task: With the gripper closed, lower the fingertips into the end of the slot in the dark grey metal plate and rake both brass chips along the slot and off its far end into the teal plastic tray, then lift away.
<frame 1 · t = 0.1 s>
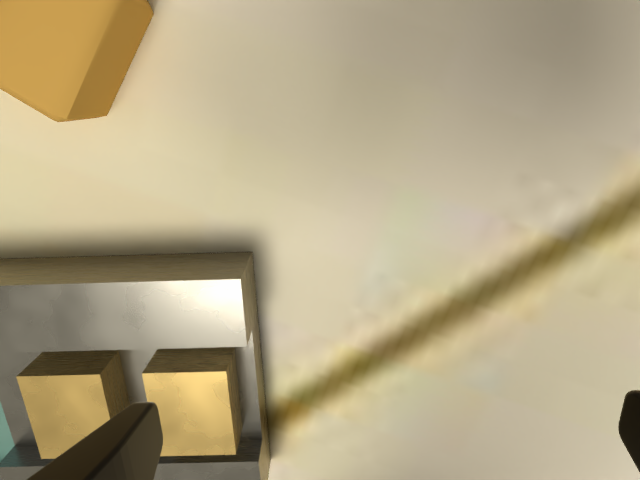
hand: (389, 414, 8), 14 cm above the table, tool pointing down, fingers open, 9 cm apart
rubber stamp: (29, 2, 19), on the table
brass chip b: (90, 391, 23), point 2 cm above the table, touching slotted plate
slotted plate: (141, 368, 25), on the table
brass chip a: (201, 389, 23), point 2 cm above the table, touching slotted plate
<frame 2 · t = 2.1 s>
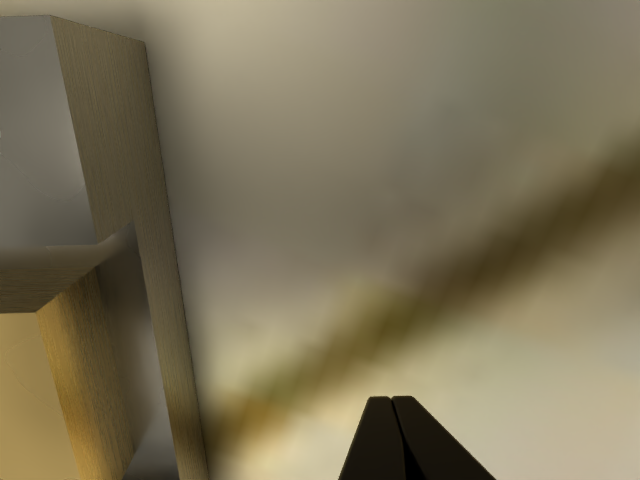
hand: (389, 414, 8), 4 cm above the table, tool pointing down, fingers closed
brass chip a: (30, 370, 10), point 2 cm above the table, touching slotted plate
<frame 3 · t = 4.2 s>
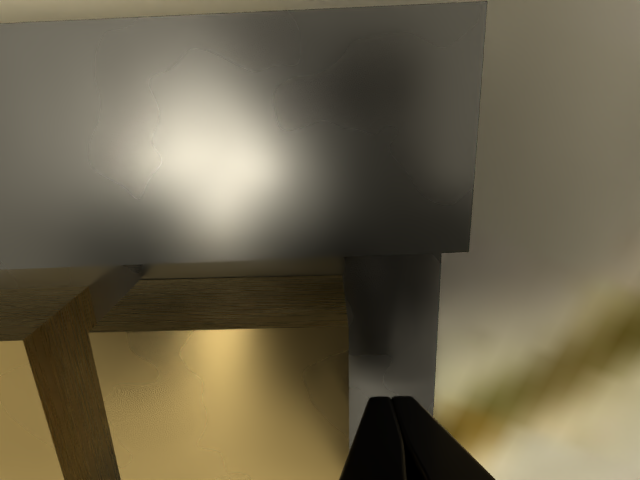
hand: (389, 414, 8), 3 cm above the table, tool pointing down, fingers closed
brass chip b: (21, 394, 9), point 2 cm above the table, touching slotted plate
slotted plate: (147, 341, 11), on the table
brass chip a: (250, 384, 9), point 2 cm above the table, touching gripper
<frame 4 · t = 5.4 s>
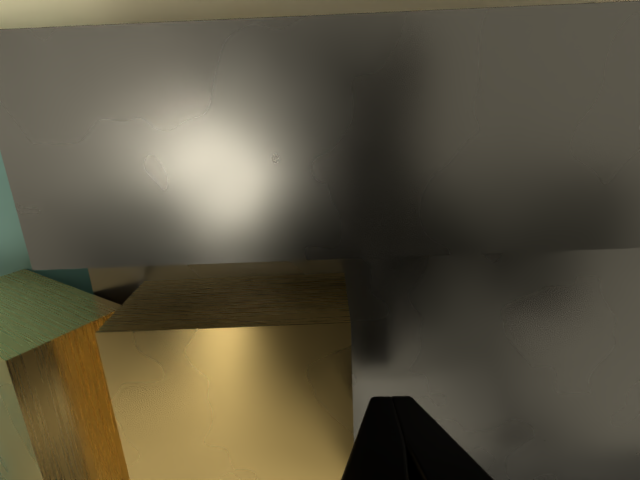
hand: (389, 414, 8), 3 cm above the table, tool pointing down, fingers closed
brass chip b: (93, 385, 10), point 2 cm above the table, tilted 33°, touching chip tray
slotted plate: (416, 333, 11), on the table
brass chip a: (255, 382, 9), point 2 cm above the table, touching gripper, slotted plate
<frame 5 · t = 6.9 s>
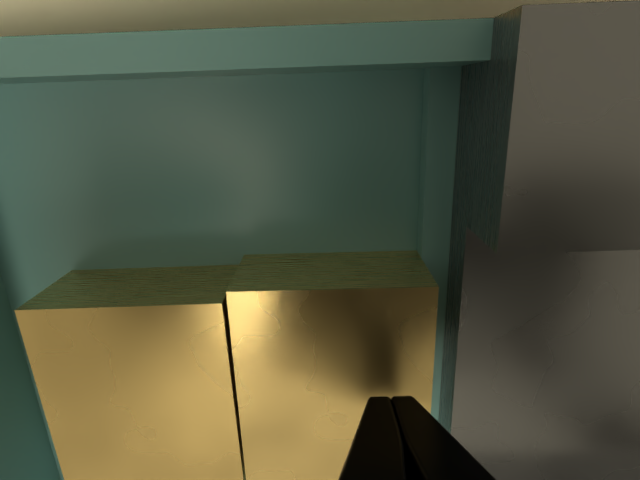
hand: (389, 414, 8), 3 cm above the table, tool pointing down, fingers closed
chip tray: (221, 338, 11), on the table
brass chip b: (171, 358, 11), resting on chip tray
brass chip a: (332, 346, 11), resting on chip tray
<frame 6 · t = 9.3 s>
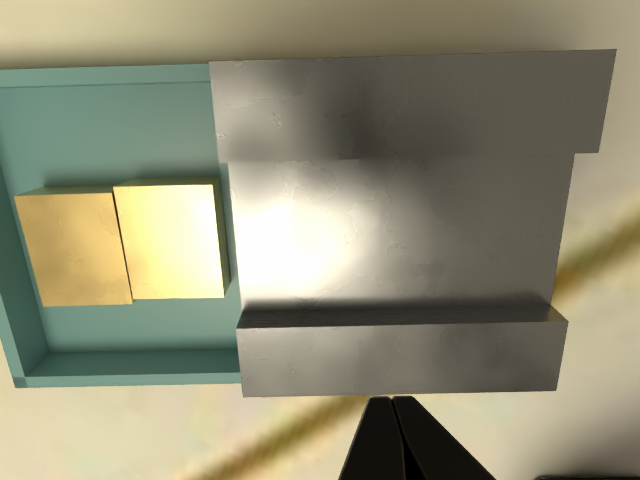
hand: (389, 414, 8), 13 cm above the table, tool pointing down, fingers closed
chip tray: (127, 228, 21), on the table
brass chip b: (98, 237, 20), resting on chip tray
slotted plate: (390, 222, 20), on the table
brass chip a: (185, 230, 20), resting on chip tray
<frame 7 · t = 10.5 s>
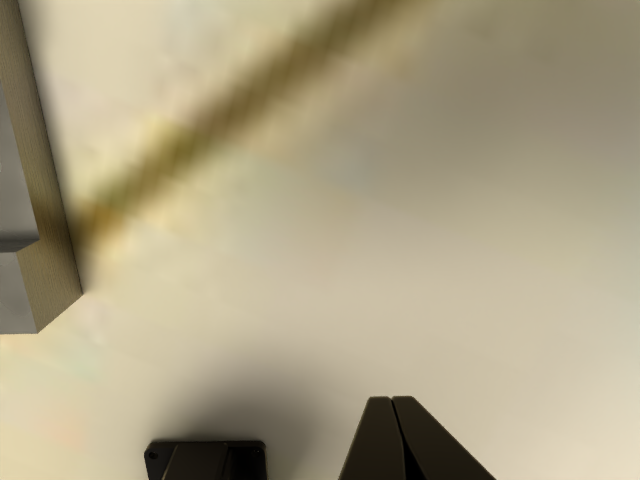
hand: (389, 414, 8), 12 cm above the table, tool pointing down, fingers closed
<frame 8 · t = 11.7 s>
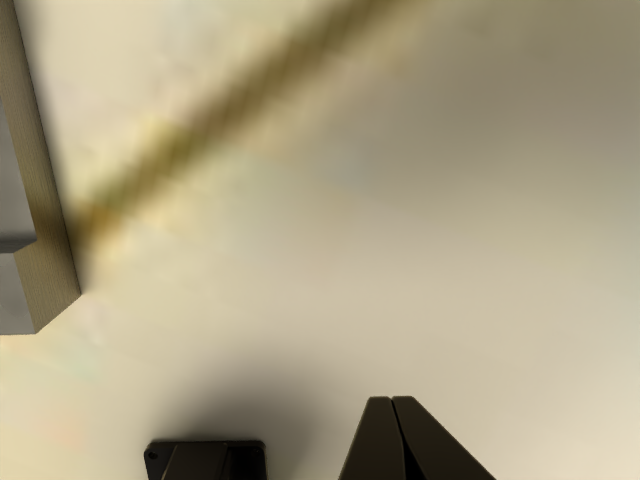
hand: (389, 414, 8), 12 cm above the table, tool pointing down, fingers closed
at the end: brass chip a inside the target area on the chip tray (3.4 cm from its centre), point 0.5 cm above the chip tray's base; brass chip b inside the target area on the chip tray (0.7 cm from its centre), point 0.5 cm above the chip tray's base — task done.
